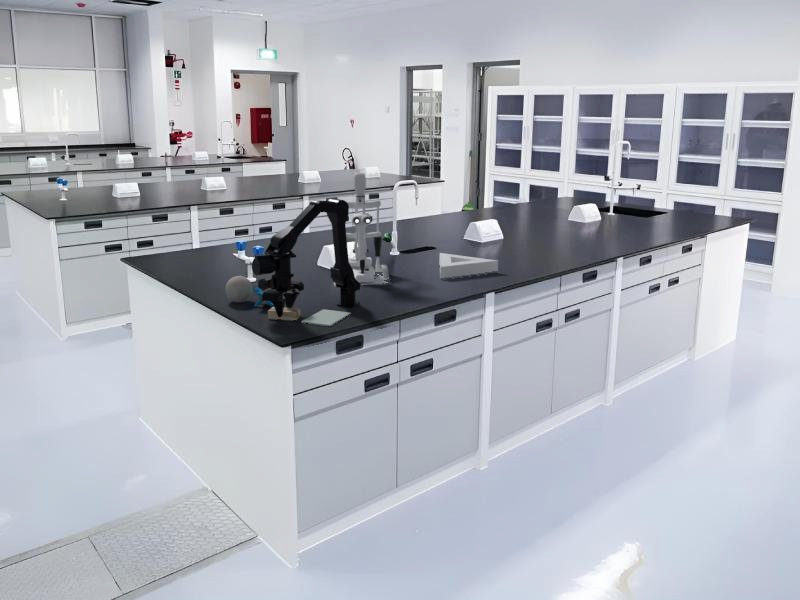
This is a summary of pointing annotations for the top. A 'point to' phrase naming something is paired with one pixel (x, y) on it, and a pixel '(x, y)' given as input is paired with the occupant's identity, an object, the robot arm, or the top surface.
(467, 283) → the top surface
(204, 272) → the top surface
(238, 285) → the grey ball
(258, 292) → the blue bumpy slanted figure
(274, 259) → the robot arm
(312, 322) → the mat
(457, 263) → the triangular ruler
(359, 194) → the microscope
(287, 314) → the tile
